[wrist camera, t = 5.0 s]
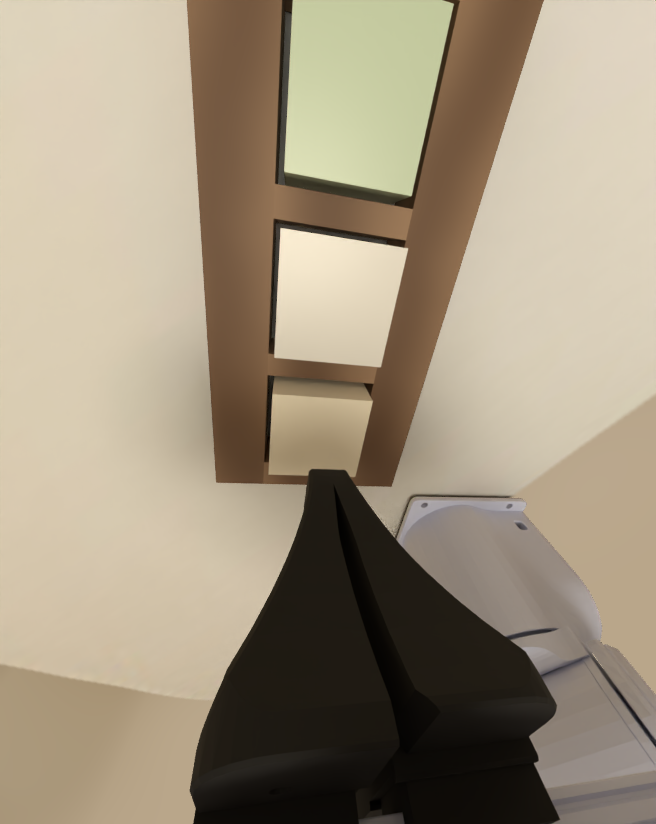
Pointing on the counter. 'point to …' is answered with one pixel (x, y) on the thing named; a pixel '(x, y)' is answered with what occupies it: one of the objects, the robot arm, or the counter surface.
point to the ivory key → (335, 298)
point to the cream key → (317, 425)
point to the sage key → (361, 94)
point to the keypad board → (333, 217)
